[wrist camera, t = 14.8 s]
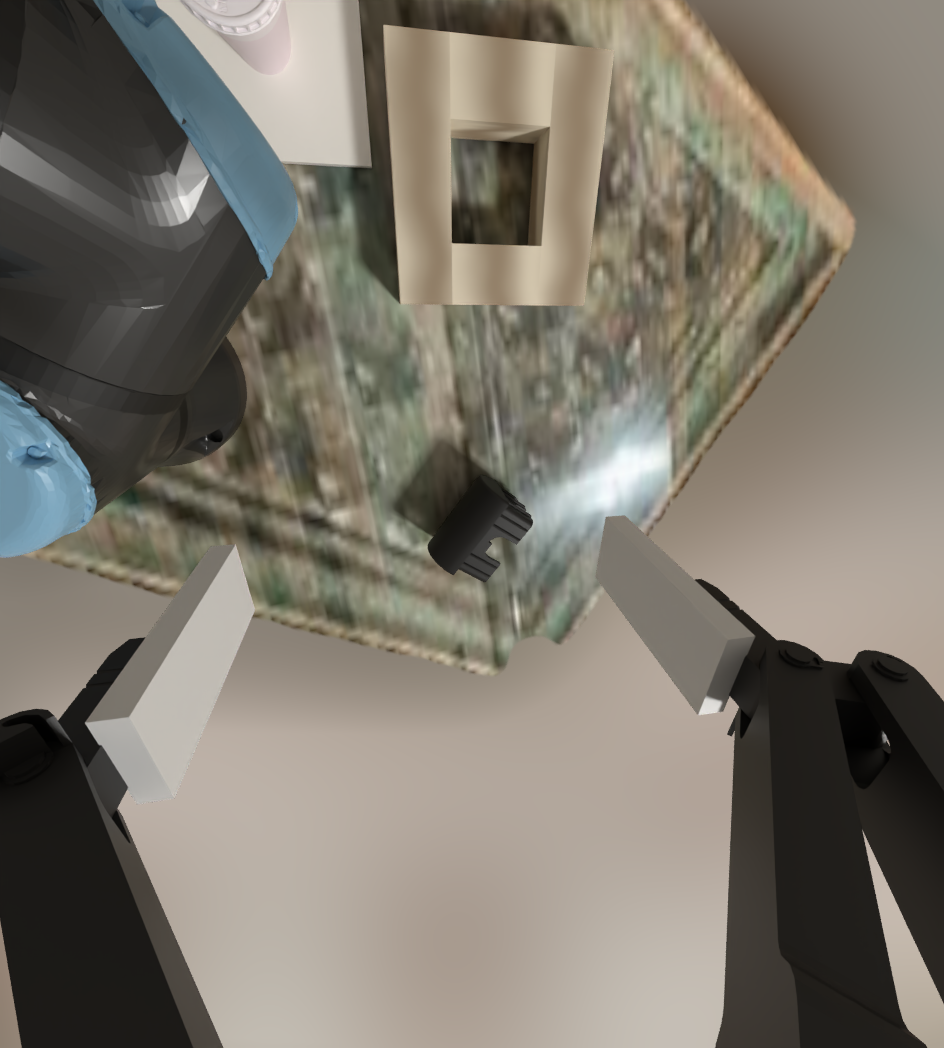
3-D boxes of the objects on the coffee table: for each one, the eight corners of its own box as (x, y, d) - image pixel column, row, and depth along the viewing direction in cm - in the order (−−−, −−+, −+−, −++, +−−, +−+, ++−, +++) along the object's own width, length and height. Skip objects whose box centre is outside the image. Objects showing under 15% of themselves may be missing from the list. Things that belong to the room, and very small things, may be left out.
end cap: (473, 465, 47) (486, 489, 41) (521, 495, 50) (539, 522, 44) (424, 532, 50) (428, 564, 44) (471, 558, 53) (482, 590, 47)
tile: (193, 158, 32) (190, 155, 31) (129, -121, 25) (123, -129, 25) (371, 168, 34) (371, 166, 33) (351, -88, 27) (350, -95, 27)
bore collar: (399, 303, 38) (400, 304, 35) (383, 55, 31) (383, 24, 27) (567, 304, 41) (584, 305, 37) (590, 76, 33) (614, 50, 30)
